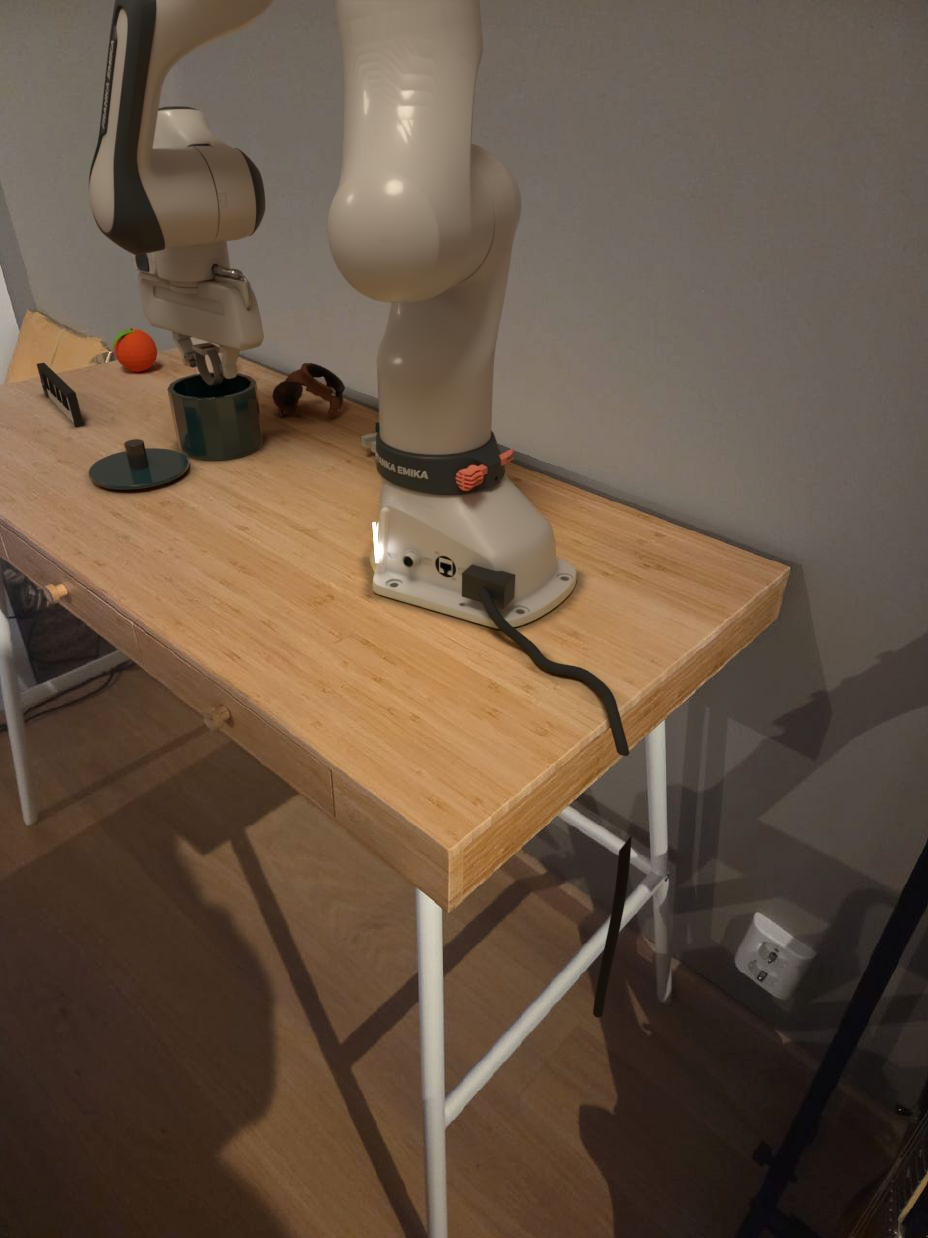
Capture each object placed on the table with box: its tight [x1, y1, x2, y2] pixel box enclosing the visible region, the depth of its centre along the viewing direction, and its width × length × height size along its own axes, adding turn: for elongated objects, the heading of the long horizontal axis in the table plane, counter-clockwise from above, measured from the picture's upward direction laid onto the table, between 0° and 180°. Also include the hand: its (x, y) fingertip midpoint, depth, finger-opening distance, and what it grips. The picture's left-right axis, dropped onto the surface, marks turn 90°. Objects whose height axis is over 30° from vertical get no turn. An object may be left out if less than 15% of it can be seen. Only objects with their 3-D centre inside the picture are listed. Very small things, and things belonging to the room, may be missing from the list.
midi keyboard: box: [36, 362, 85, 428], centre depth 126 cm, size 18×1×5 cm, turn 36°
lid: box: [88, 438, 190, 490], centre depth 106 cm, size 12×12×4 cm
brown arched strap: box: [271, 362, 346, 419], centre depth 125 cm, size 12×10×8 cm
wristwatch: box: [192, 342, 223, 386], centre depth 110 cm, size 6×3×5 cm, turn 37°
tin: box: [167, 372, 264, 462], centre depth 114 cm, size 11×11×8 cm
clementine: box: [112, 328, 158, 372], centre depth 141 cm, size 8×7×7 cm
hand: (210, 371), depth 110 cm, fingers closed on wristwatch, 6 cm apart
